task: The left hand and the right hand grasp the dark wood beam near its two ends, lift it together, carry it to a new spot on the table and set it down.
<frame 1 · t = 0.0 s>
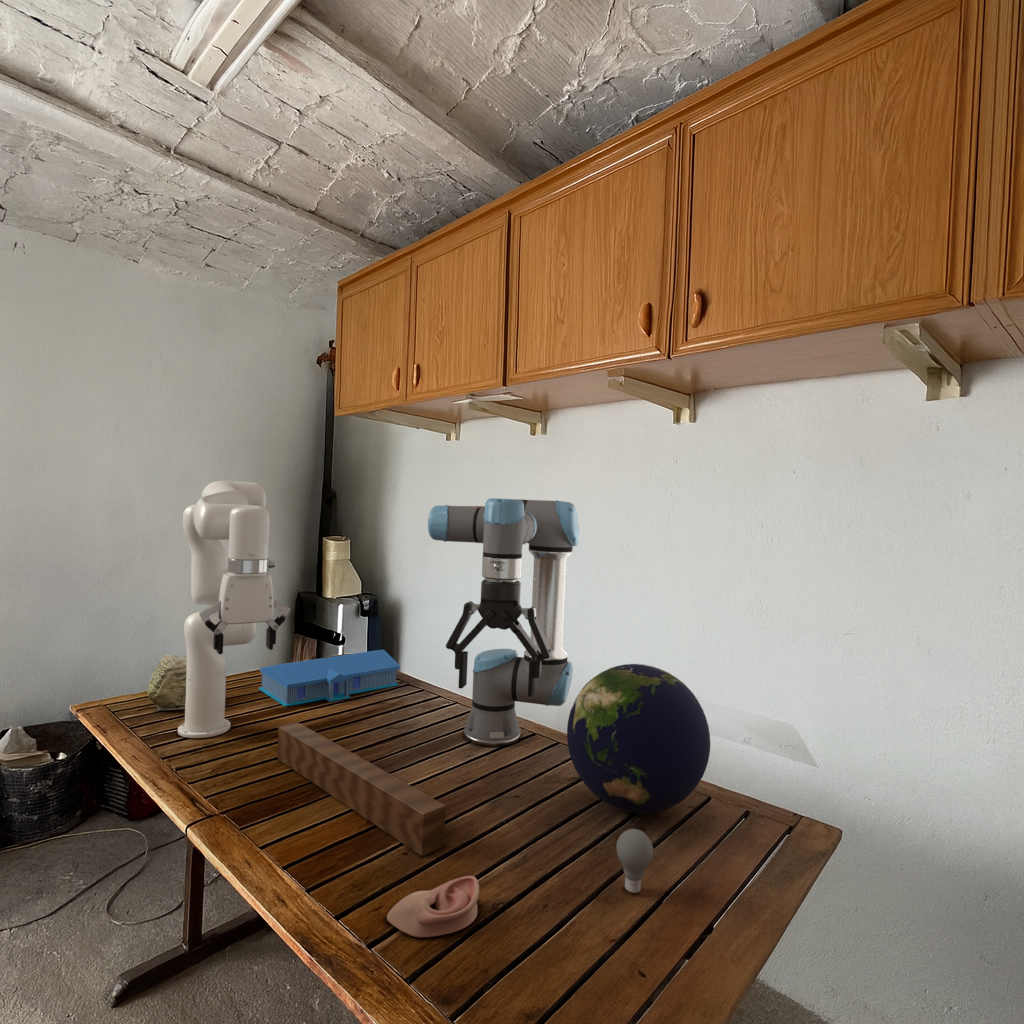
left hand: (244, 650, 130), 31 cm above the table, tool pointing down, fingers open, 9 cm apart
right hand: (496, 690, 121), 28 cm above the table, tool pointing down, fingers open, 13 cm apart
globe: (633, 806, 136), on the table
light bulb: (632, 891, 106), on the table
model building: (332, 688, 208), on the table
beam: (349, 796, 134), on the table
fossil: (183, 706, 185), on the table
anatomical model: (433, 915, 98), on the table
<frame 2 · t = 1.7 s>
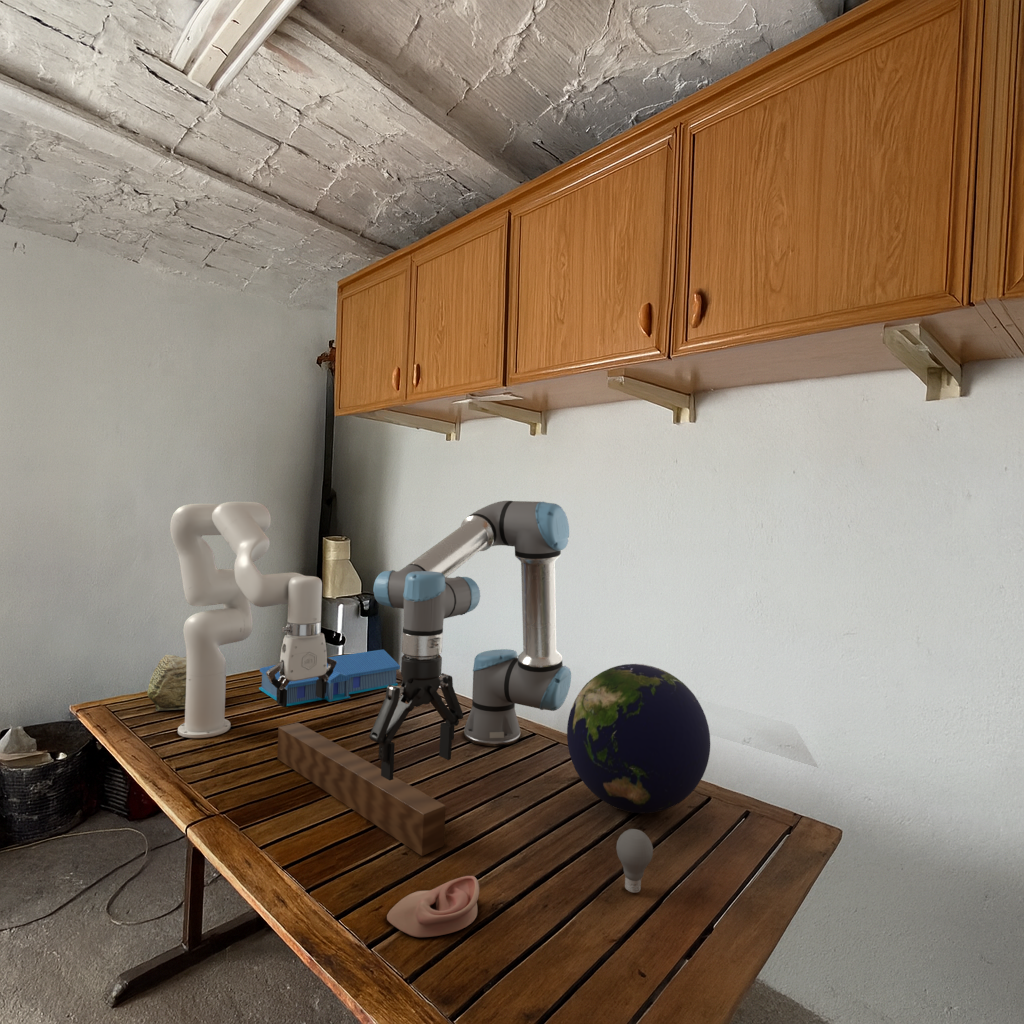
left hand: (301, 701, 149), 15 cm above the table, tool pointing down, fingers open, 9 cm apart
right hand: (417, 767, 119), 14 cm above the table, tool pointing down, fingers open, 13 cm apart
nothing on the table moved.
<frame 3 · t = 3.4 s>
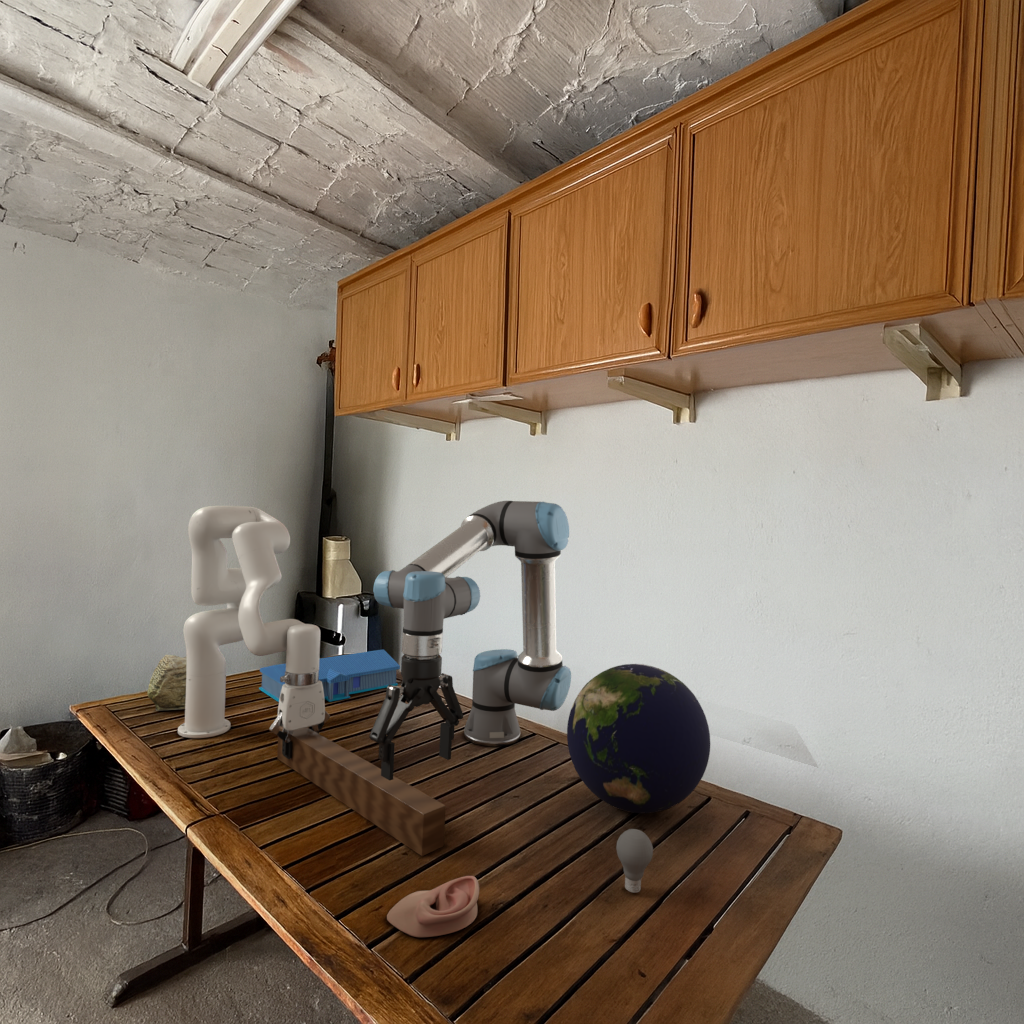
left hand: (299, 753, 150), 2 cm above the table, tool pointing down, fingers closed on beam, 5 cm apart
right hand: (417, 767, 119), 14 cm above the table, tool pointing down, fingers open, 13 cm apart
beam: (349, 796, 134), on the table, touching left hand
everything else where it was.
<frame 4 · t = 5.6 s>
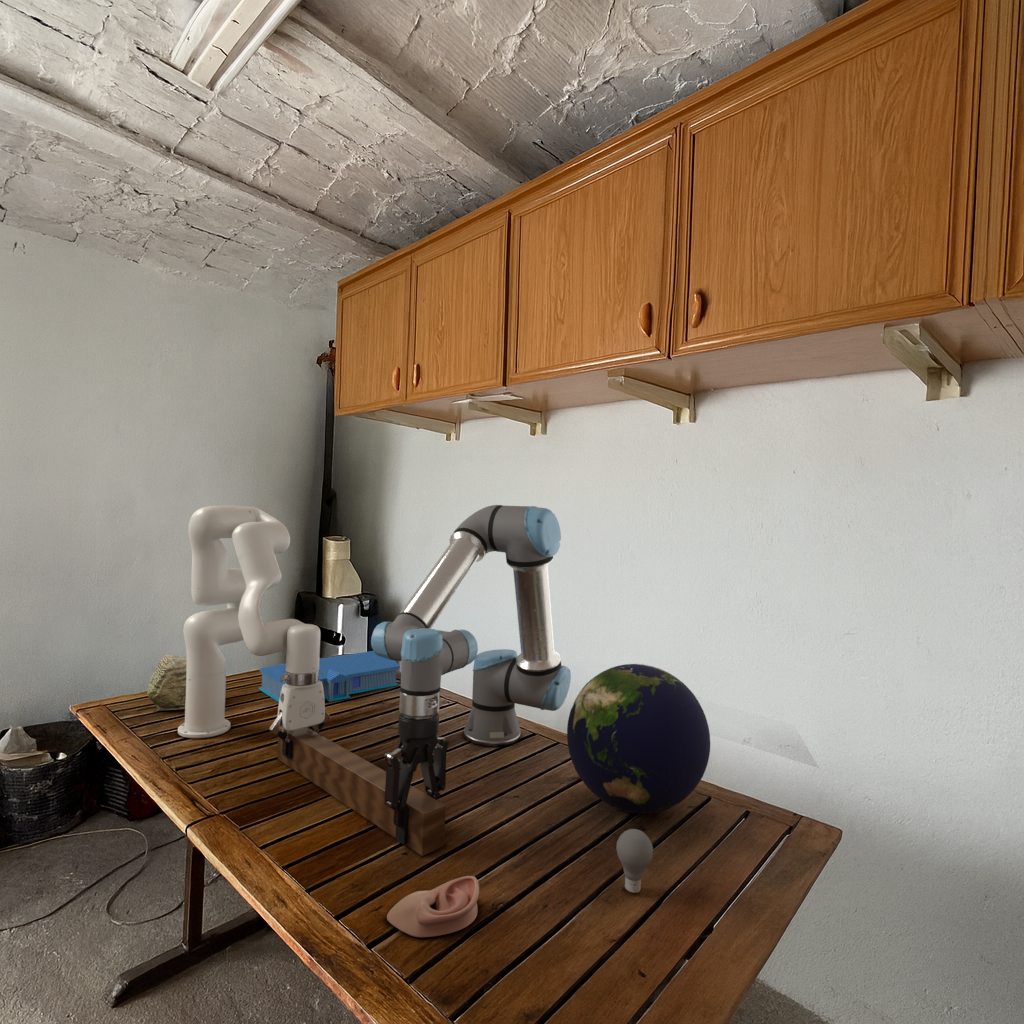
left hand: (299, 753, 150), 2 cm above the table, tool pointing down, fingers closed on beam, 5 cm apart
right hand: (414, 835, 119), 1 cm above the table, tool pointing down, fingers closed on beam, 5 cm apart
beam: (349, 796, 134), on the table, touching left hand, right hand
everything else where it was.
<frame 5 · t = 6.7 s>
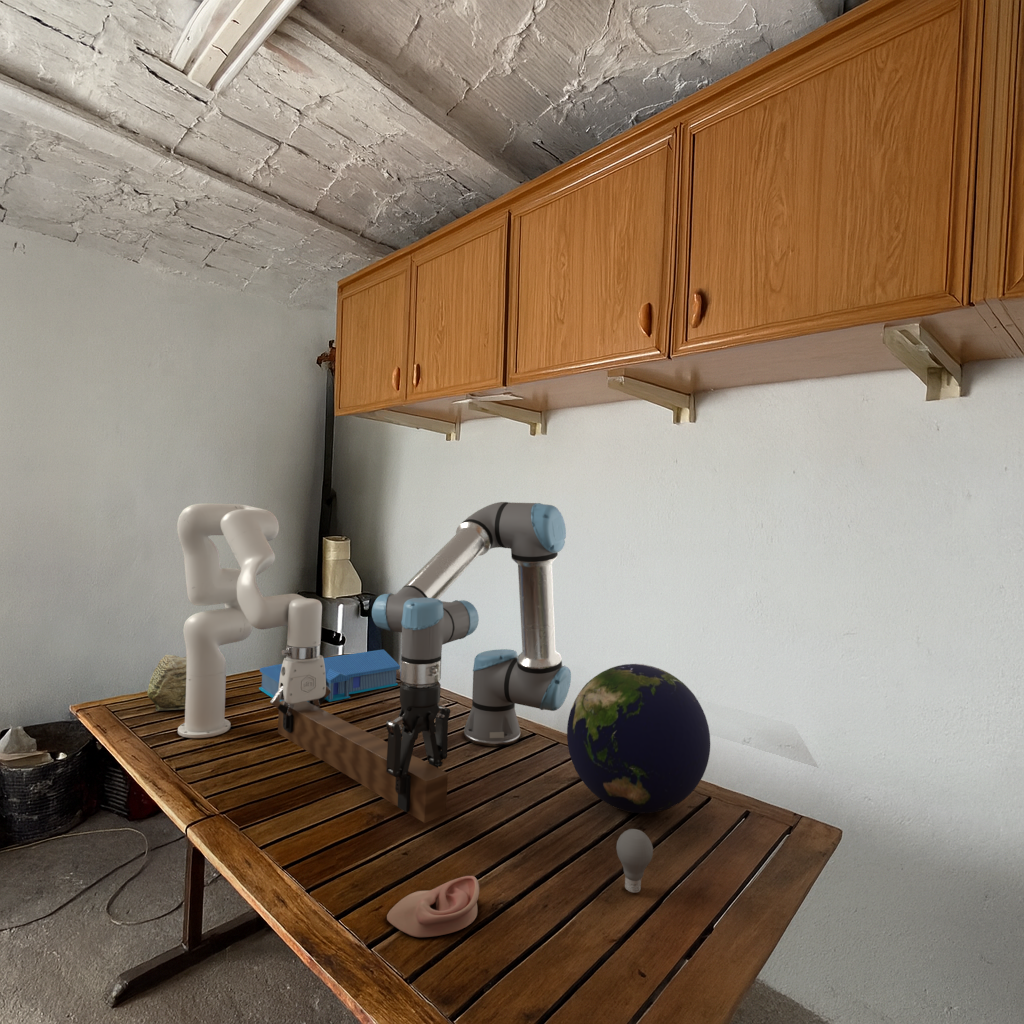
left hand: (300, 727, 150), 9 cm above the table, tool pointing down, fingers closed on beam, 5 cm apart
right hand: (416, 803, 119), 6 cm above the table, tool pointing down, fingers closed on beam, 5 cm apart
beam: (351, 768, 135), point 6 cm above the table, touching left hand, right hand
everything else where it was.
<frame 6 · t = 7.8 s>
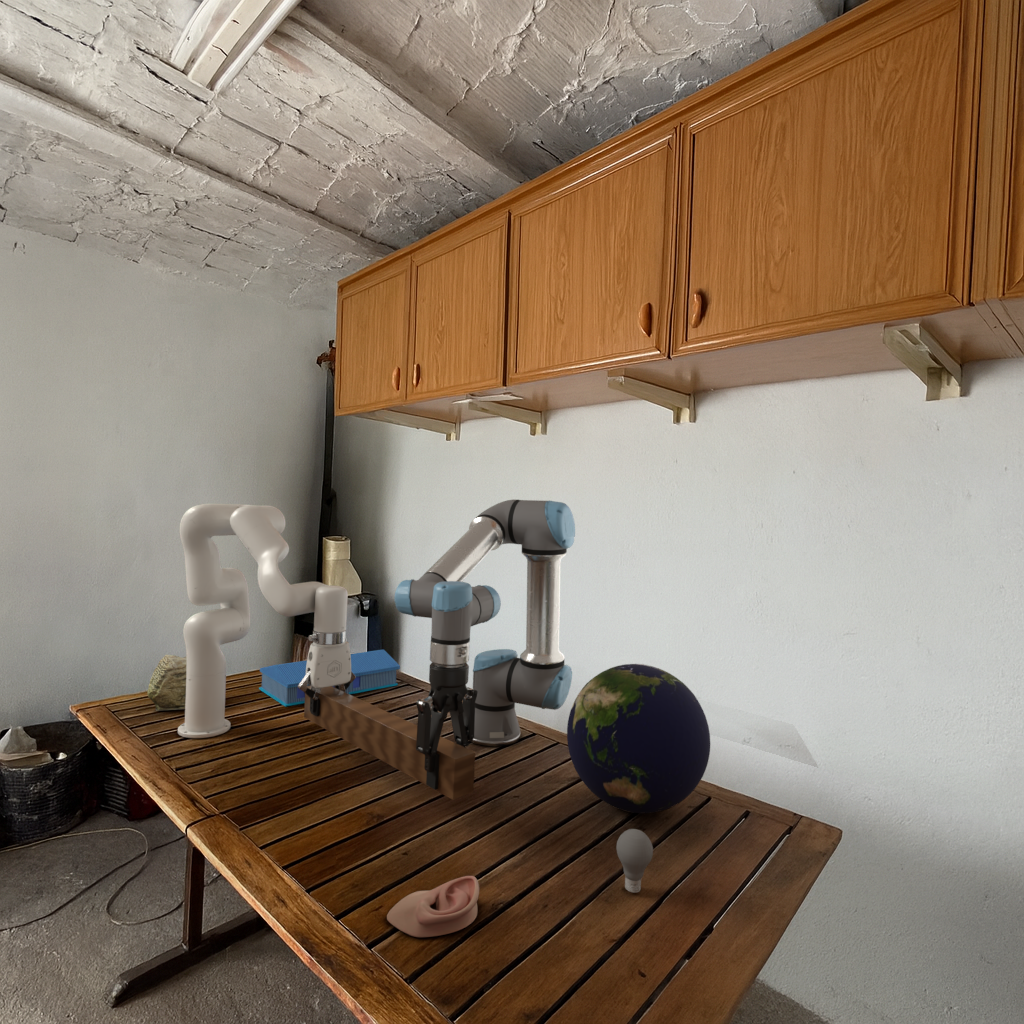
left hand: (326, 711, 153), 11 cm above the table, tool pointing down, fingers closed on beam, 5 cm apart
right hand: (444, 781, 122), 9 cm above the table, tool pointing down, fingers closed on beam, 5 cm apart
beam: (377, 749, 138), point 9 cm above the table, touching left hand, right hand
everything else where it was.
when the right hand's fingers open (2 cm above the table, at t = 10.2 s): beam drops 1 cm, on the table.
when the left hand's fingers open (3 cm above the table, at t = 10.4 s): beam stays where it is, on the table.
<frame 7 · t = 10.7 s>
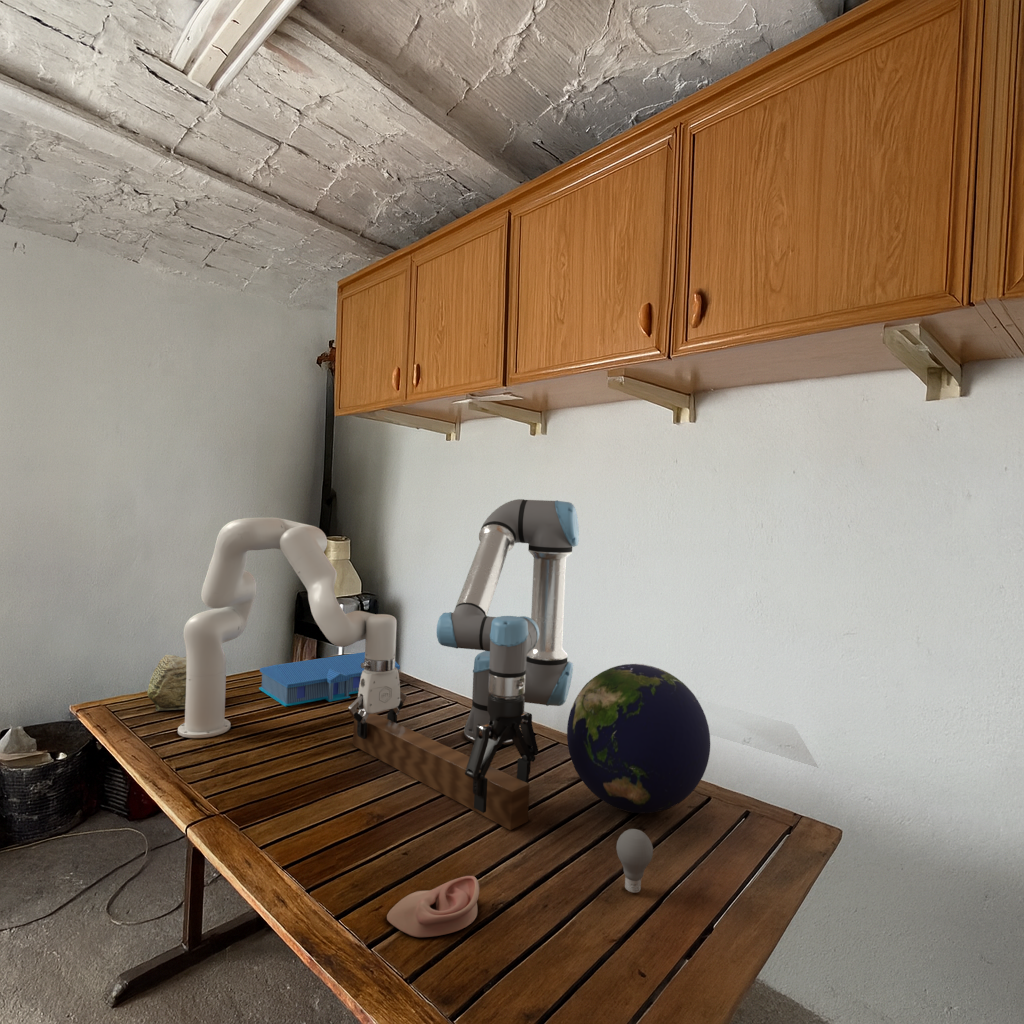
left hand: (377, 732, 160), 4 cm above the table, tool pointing down, fingers open, 8 cm apart
right hand: (501, 800, 129), 3 cm above the table, tool pointing down, fingers open, 11 cm apart
beam: (429, 778, 145), on the table
everything else where it was.
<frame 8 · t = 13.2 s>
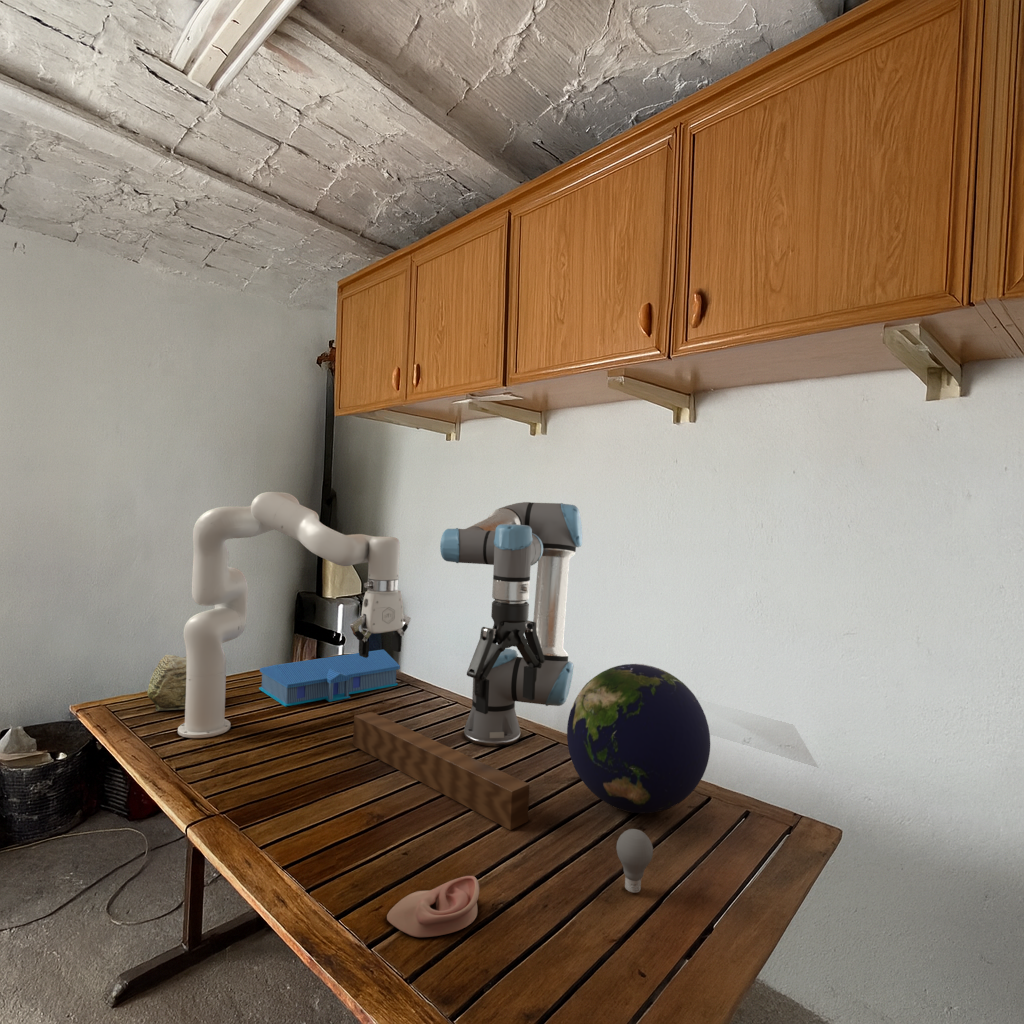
left hand: (380, 653, 159), 24 cm above the table, tool pointing down, fingers open, 9 cm apart
right hand: (505, 705, 129), 23 cm above the table, tool pointing down, fingers open, 13 cm apart
nothing on the table moved.
at the end: beam inside the target area (0.6 cm from its centre), on the table; beam tilted 0°; beam never tilted more than 1° during the clip; both hands held the beam at the same time; the left hand is holding nothing; the right hand is holding nothing; beam at rest at the end (0.0 cm/s) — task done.
